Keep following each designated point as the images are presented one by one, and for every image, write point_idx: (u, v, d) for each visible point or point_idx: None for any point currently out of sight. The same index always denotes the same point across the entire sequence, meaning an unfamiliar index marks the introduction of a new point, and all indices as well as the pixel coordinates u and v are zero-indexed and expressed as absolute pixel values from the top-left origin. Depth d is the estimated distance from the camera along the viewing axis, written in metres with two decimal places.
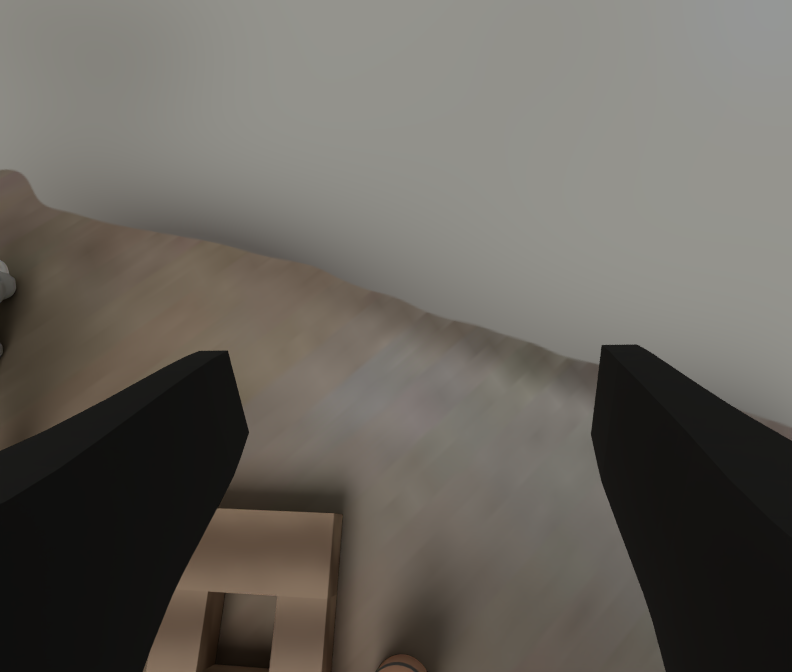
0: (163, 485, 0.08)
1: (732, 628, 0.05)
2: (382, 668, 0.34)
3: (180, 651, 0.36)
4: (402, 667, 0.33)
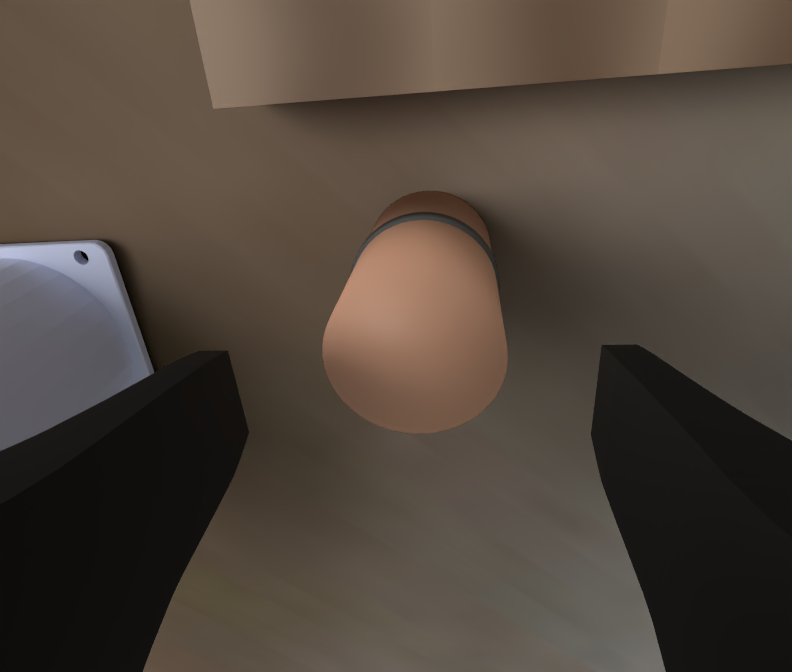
0: (163, 485, 0.08)
1: (732, 628, 0.05)
2: (488, 255, 0.14)
3: None
4: None
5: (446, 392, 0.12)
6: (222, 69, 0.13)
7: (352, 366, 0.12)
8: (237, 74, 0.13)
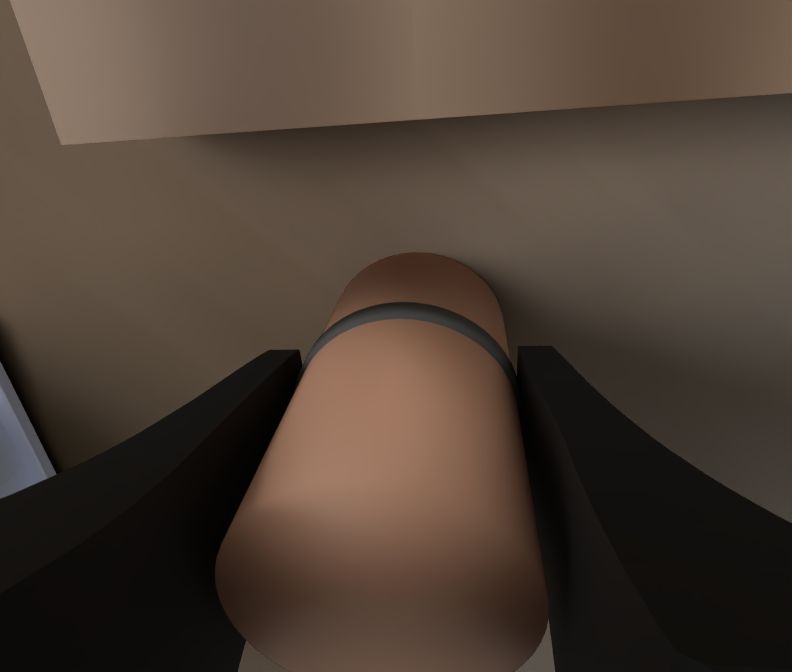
0: None
1: (581, 620, 0.05)
2: (505, 372, 0.09)
3: None
4: None
5: (437, 653, 0.07)
6: (67, 81, 0.08)
7: (270, 609, 0.07)
8: (92, 90, 0.08)
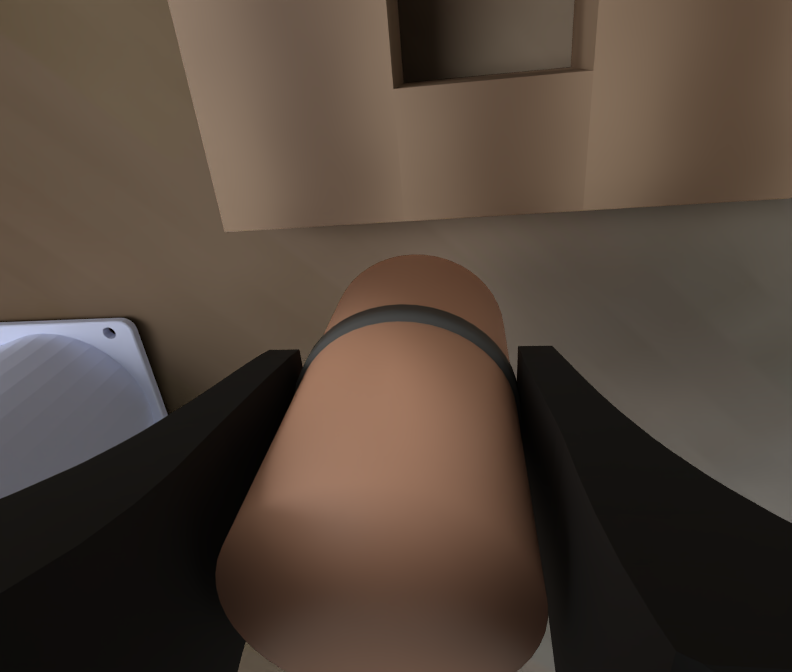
0: None
1: (581, 620, 0.05)
2: (505, 374, 0.09)
3: None
4: None
5: (436, 654, 0.07)
6: (232, 203, 0.16)
7: (271, 611, 0.07)
8: (244, 207, 0.16)
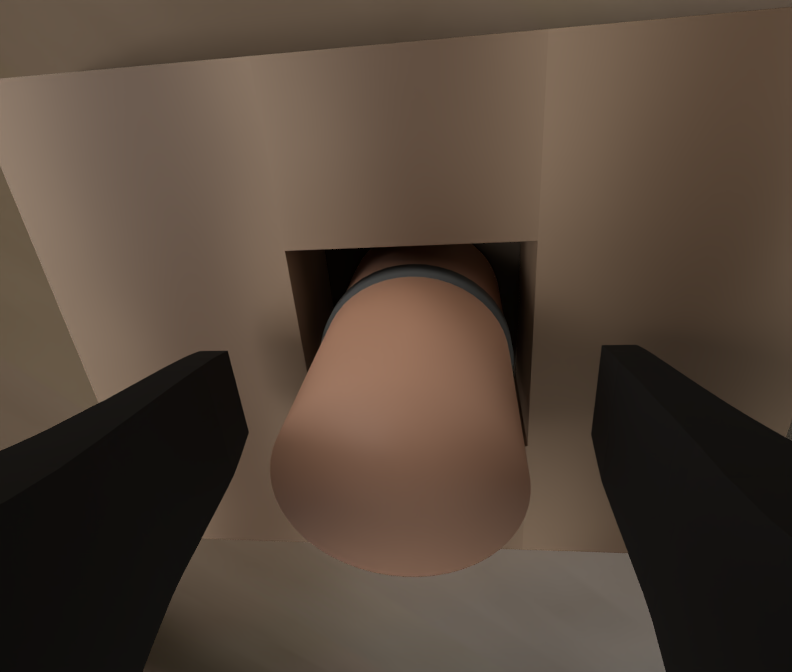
0: (163, 485, 0.08)
1: (732, 628, 0.05)
2: (499, 322, 0.11)
3: (335, 181, 0.10)
4: None
5: (442, 530, 0.08)
6: None
7: (312, 493, 0.08)
8: None
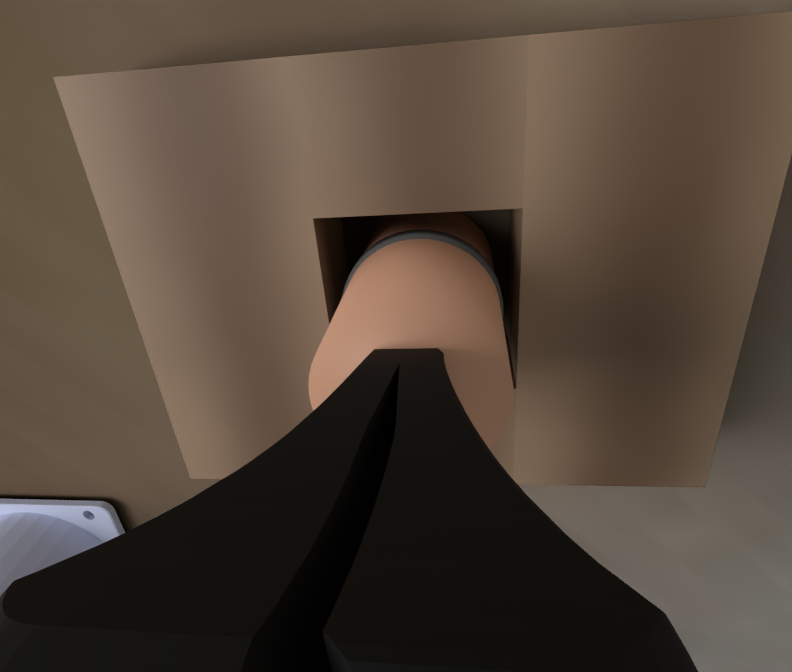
0: None
1: None
2: (491, 277, 0.13)
3: (356, 159, 0.12)
4: None
5: None
6: (196, 458, 0.17)
7: None
8: (207, 462, 0.17)
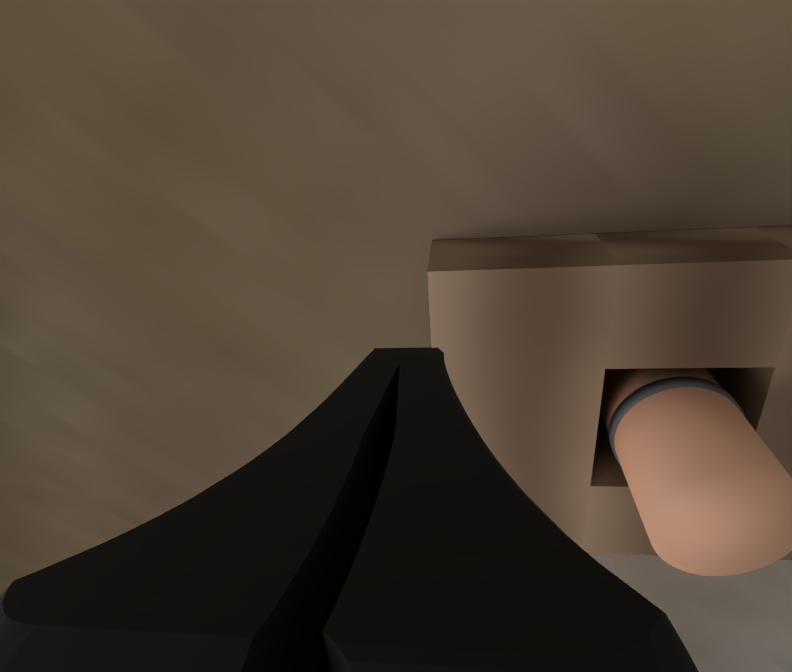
0: None
1: None
2: (742, 415, 0.17)
3: (651, 331, 0.16)
4: None
5: (746, 549, 0.15)
6: None
7: (673, 528, 0.14)
8: None
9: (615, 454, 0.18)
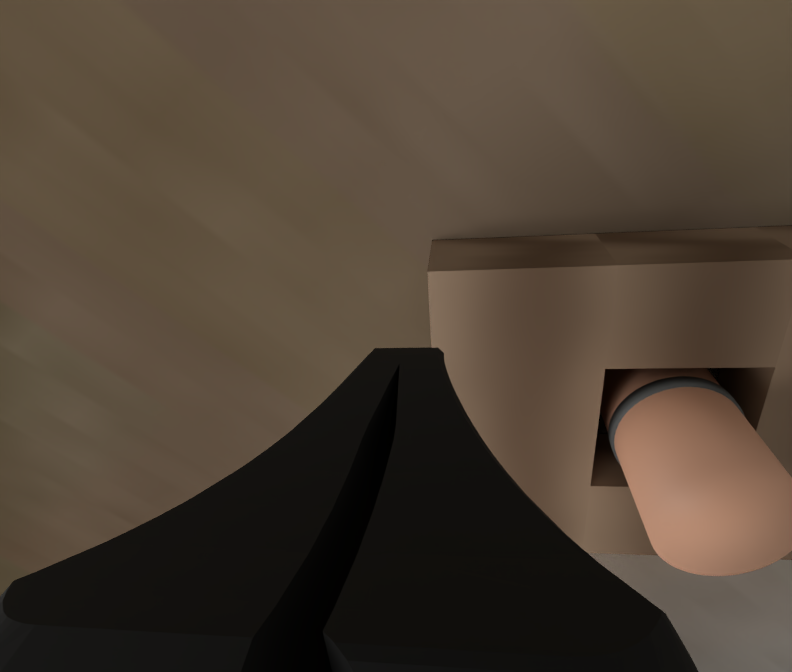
0: None
1: None
2: (742, 414, 0.17)
3: (652, 331, 0.16)
4: None
5: (746, 549, 0.15)
6: None
7: (673, 528, 0.14)
8: None
9: (615, 454, 0.18)
